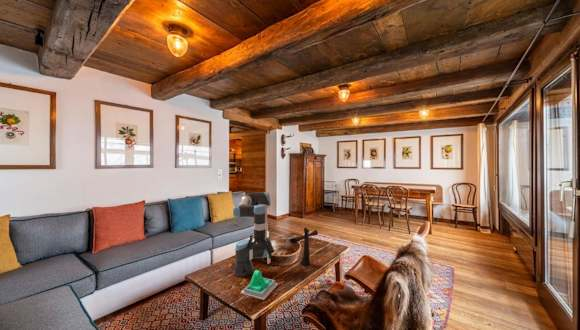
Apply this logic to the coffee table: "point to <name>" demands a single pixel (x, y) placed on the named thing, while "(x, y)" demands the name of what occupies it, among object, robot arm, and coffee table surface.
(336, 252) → the coffee table surface
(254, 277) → the camera mount
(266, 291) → the dock
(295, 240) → the flared trumpet-armed statue
